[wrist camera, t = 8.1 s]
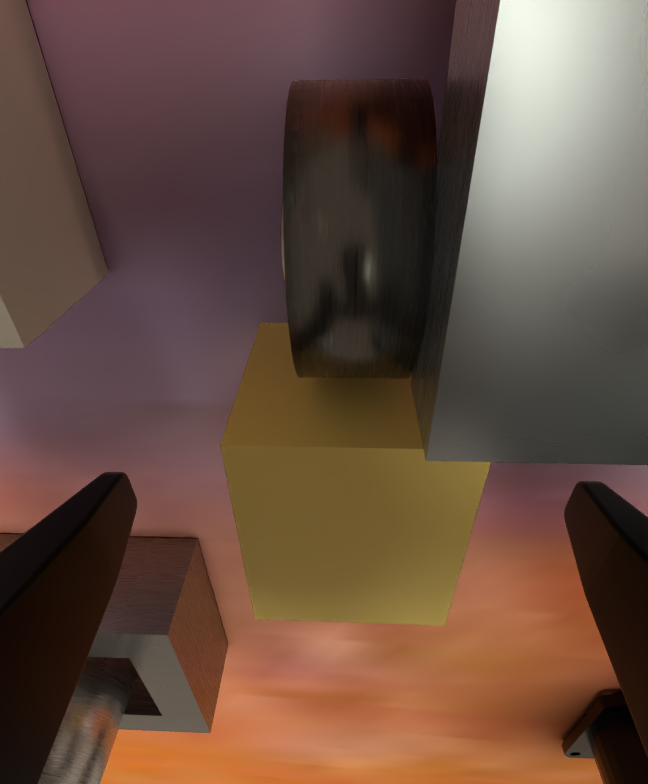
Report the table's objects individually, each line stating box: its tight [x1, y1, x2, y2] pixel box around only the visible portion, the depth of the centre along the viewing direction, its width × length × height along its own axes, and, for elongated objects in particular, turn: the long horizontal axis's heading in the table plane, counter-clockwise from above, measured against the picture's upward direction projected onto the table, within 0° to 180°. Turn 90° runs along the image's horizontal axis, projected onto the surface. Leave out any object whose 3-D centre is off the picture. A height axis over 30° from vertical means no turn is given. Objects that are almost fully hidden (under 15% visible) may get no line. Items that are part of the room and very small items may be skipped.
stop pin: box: [38, 657, 138, 784], centre depth 13 cm, size 3×3×9 cm
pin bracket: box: [0, 534, 228, 733], centre depth 15 cm, size 7×7×3 cm
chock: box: [220, 323, 491, 625], centre depth 10 cm, size 5×4×4 cm
